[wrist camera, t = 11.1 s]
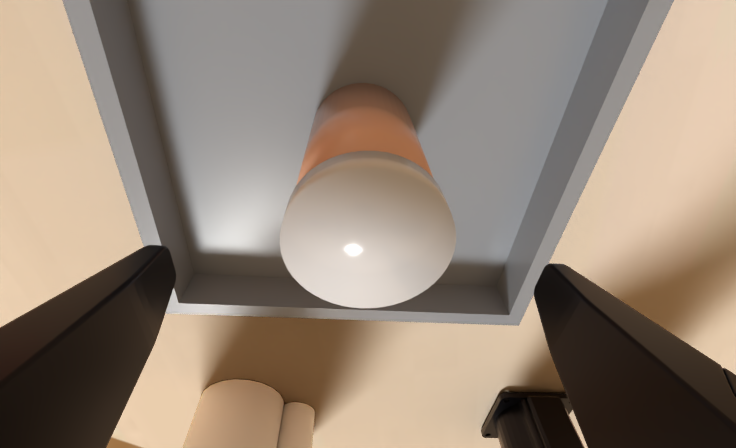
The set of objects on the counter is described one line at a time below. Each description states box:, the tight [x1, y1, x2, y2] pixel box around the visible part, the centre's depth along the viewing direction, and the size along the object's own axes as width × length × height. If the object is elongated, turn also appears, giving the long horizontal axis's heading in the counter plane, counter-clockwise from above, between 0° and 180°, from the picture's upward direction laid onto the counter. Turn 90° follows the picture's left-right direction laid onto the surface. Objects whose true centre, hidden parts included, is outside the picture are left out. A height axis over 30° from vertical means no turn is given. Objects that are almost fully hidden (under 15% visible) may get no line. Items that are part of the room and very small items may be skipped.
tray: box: [63, 0, 674, 325], centre depth 16 cm, size 19×19×3 cm
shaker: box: [280, 83, 456, 308], centre depth 13 cm, size 5×5×8 cm
